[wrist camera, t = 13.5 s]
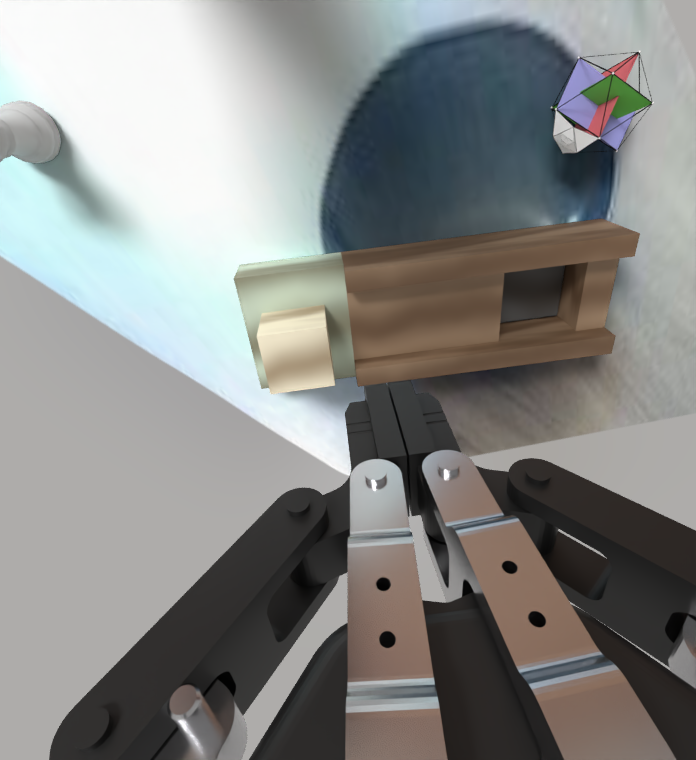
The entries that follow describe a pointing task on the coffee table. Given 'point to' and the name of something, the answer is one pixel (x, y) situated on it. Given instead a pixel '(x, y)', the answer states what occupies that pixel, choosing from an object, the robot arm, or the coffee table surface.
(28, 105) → the rook chess piece
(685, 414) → the coffee table surface
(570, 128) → the geometric puzzle
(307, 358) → the birch block
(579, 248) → the channel deck
